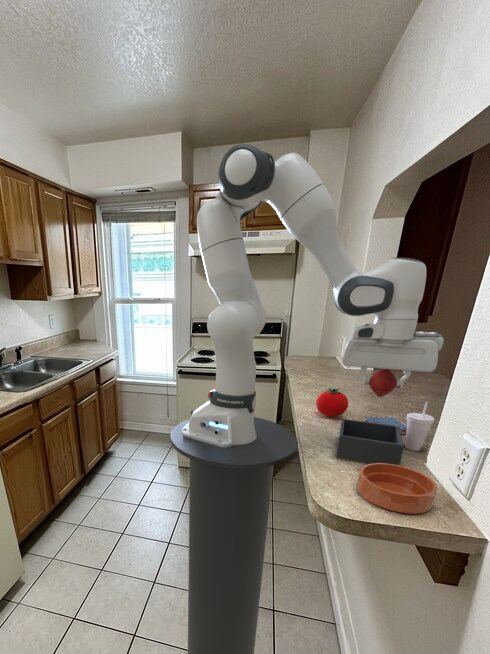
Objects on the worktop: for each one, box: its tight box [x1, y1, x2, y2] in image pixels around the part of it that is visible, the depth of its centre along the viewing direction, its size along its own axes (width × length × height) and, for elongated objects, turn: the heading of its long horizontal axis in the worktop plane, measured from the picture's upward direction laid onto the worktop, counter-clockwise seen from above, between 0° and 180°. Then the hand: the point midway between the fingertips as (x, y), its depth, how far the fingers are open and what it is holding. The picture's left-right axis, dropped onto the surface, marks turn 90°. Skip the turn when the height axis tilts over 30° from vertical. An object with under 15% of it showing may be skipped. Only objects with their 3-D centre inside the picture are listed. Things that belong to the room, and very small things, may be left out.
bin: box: [335, 418, 405, 466], centre depth 98 cm, size 15×15×7 cm
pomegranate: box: [368, 369, 397, 398], centre depth 90 cm, size 6×6×8 cm
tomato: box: [315, 387, 349, 418], centre depth 125 cm, size 10×10×10 cm
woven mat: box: [363, 416, 407, 435], centre depth 115 cm, size 10×11×2 cm
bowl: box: [356, 463, 438, 515], centre depth 78 cm, size 14×14×4 cm
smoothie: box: [404, 401, 435, 452], centre depth 99 cm, size 6×6×14 cm
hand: (381, 385), depth 90 cm, fingers closed on pomegranate, 6 cm apart
